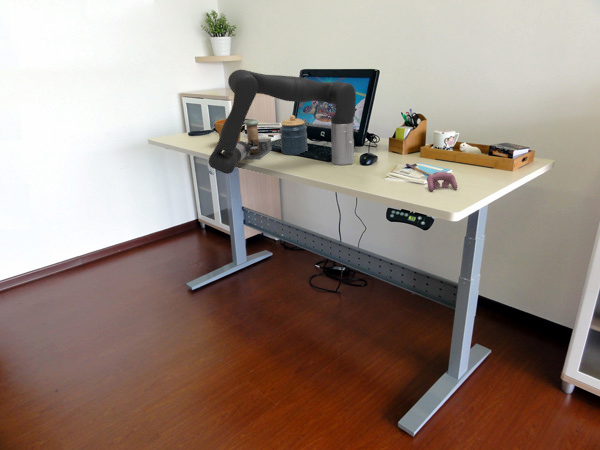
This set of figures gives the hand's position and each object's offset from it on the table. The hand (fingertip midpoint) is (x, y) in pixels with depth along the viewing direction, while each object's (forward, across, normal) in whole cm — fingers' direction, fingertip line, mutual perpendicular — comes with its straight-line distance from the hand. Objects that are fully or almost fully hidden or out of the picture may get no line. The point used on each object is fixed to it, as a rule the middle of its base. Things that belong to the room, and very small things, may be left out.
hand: (251, 142), depth 194 cm
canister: (+10, -18, +7) cm, 22 cm away
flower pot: (+21, +20, +7) cm, 30 cm away
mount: (+5, 0, +7) cm, 9 cm away
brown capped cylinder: (+3, 0, +5) cm, 6 cm away
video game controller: (-37, -83, +7) cm, 91 cm away
